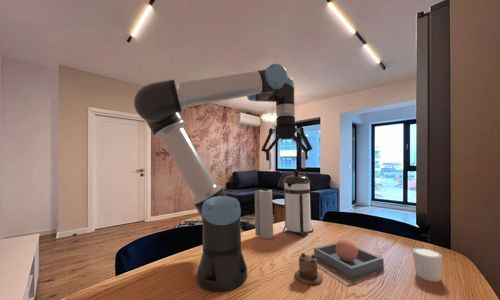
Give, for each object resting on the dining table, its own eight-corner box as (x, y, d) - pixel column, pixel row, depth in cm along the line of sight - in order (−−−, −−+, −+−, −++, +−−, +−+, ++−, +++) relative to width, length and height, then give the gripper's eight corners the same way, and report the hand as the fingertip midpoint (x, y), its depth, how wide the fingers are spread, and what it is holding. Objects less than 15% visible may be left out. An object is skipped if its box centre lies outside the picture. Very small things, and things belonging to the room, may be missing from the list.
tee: (306, 288, 58) (305, 265, 59) (289, 274, 66) (288, 253, 66) (328, 281, 62) (327, 259, 62) (310, 268, 69) (309, 249, 69)
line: (347, 285, 59) (347, 285, 59) (301, 256, 77) (301, 256, 77) (350, 284, 60) (350, 283, 60) (304, 256, 78) (304, 255, 78)
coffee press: (320, 237, 96) (318, 170, 98) (285, 237, 96) (283, 171, 98) (310, 225, 114) (308, 168, 115) (280, 225, 114) (278, 169, 115)
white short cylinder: (446, 285, 58) (444, 259, 59) (414, 278, 62) (413, 254, 62) (440, 273, 64) (439, 250, 65) (412, 268, 68) (411, 245, 68)
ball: (342, 268, 71) (349, 260, 66) (328, 248, 76) (334, 240, 71) (358, 259, 73) (366, 250, 68) (344, 241, 78) (350, 231, 73)
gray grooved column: (275, 236, 98) (274, 189, 99) (267, 240, 94) (266, 191, 95) (263, 233, 103) (262, 188, 104) (255, 236, 99) (254, 190, 100)
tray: (352, 281, 61) (351, 268, 62) (314, 258, 76) (313, 248, 76) (383, 269, 67) (383, 258, 67) (342, 250, 82) (342, 241, 82)
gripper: (313, 117, 91) (315, 167, 90) (254, 118, 91) (256, 168, 90) (319, 113, 83) (320, 168, 82) (255, 115, 84) (256, 169, 83)
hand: (287, 168), depth 86 cm, fingers open, 13 cm apart
